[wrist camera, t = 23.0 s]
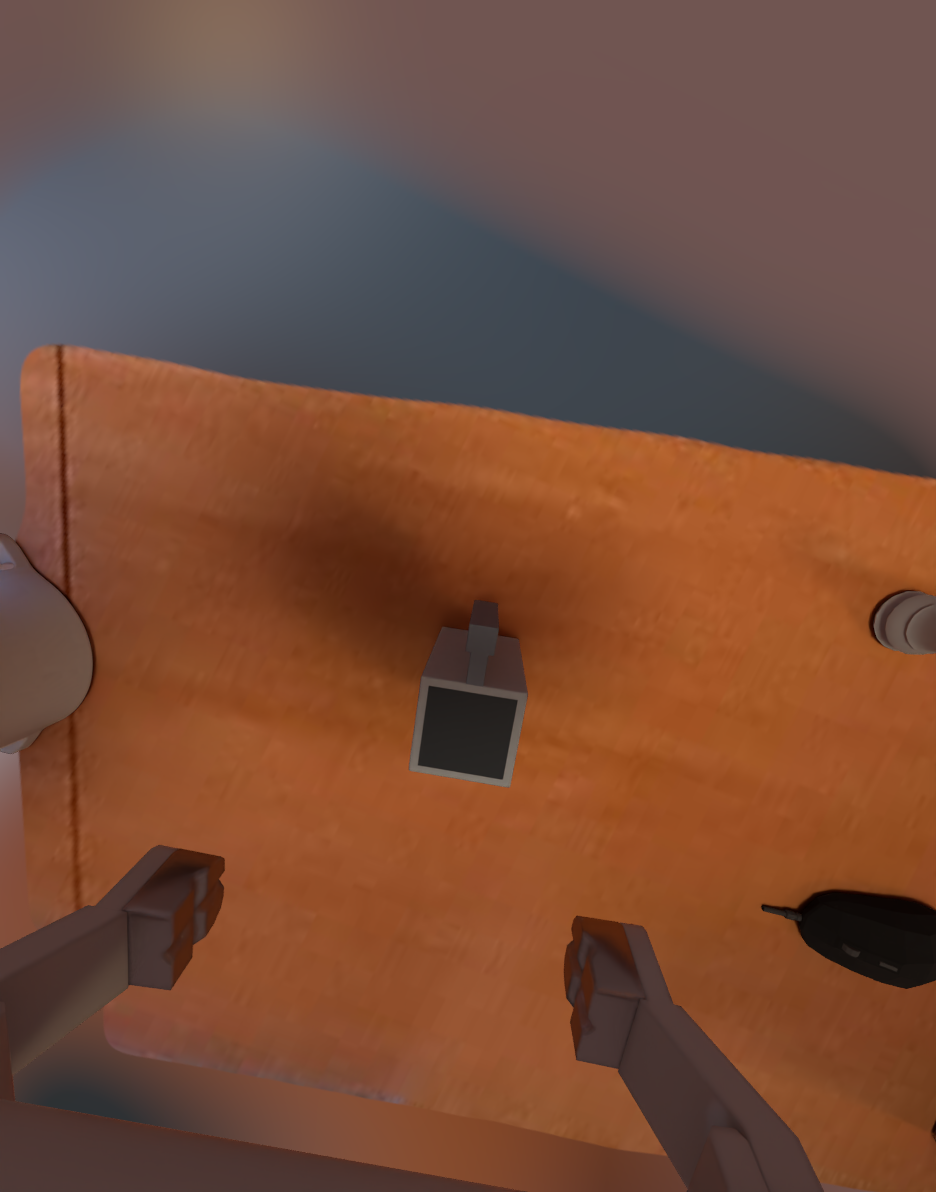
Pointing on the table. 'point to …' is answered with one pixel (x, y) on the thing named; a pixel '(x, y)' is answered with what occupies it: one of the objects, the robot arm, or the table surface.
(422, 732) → the grey box with ridge
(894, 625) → the rook chess piece
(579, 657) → the table surface
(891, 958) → the gaming mouse
